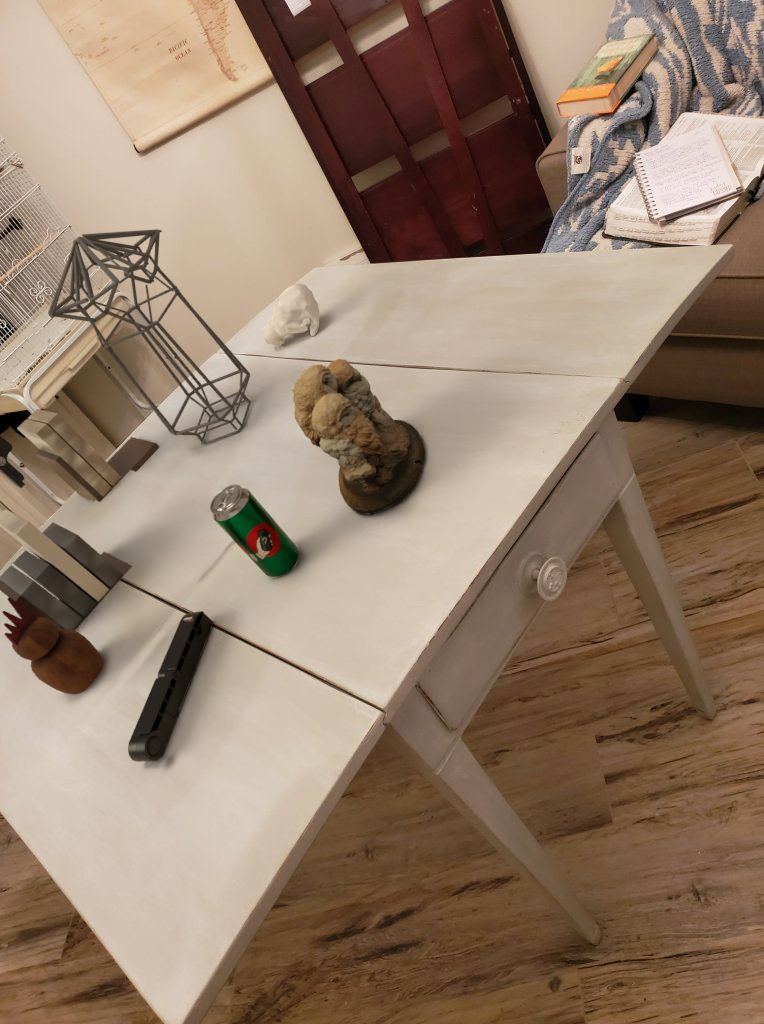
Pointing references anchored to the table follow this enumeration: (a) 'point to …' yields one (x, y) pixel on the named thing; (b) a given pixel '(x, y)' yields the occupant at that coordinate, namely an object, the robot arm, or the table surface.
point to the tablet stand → (169, 688)
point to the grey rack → (60, 580)
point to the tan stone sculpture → (358, 436)
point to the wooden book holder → (82, 455)
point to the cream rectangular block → (51, 554)
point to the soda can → (254, 530)
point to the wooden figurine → (54, 651)
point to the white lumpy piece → (292, 314)
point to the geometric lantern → (80, 274)
